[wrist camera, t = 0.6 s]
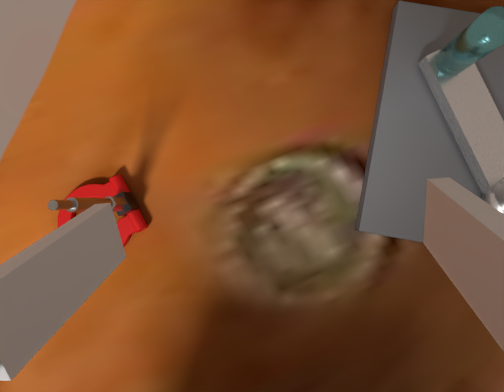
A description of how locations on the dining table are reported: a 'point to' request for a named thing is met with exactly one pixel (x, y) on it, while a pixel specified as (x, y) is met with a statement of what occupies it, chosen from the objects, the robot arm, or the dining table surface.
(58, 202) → the tow hook
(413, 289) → the dining table surface
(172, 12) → the dining table surface
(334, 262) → the dining table surface
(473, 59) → the lever
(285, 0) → the dining table surface
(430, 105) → the base plate
